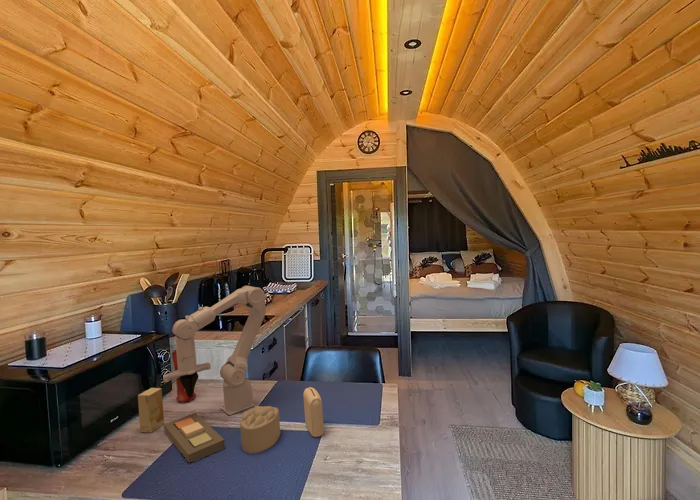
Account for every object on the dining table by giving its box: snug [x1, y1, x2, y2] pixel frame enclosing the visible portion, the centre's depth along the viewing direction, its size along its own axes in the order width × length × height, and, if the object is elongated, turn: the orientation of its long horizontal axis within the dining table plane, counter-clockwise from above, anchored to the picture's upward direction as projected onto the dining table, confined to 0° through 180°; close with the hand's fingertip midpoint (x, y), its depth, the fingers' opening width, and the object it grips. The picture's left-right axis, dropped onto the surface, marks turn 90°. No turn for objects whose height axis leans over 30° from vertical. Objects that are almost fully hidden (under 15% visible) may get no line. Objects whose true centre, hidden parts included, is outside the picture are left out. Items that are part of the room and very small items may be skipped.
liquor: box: [171, 349, 197, 403], centre depth 142 cm, size 7×7×28 cm
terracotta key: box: [174, 417, 196, 430], centre depth 118 cm, size 5×5×2 cm
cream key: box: [181, 422, 204, 439], centre depth 113 cm, size 5×5×2 cm
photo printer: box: [302, 386, 325, 438], centre depth 114 cm, size 10×4×12 cm, turn 20°
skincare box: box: [137, 387, 165, 433], centre depth 122 cm, size 6×4×12 cm
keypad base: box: [163, 412, 226, 464], centre depth 113 cm, size 10×24×2 cm, turn 41°
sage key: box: [189, 433, 212, 448], centre depth 108 cm, size 5×5×2 cm
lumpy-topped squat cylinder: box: [239, 405, 281, 454], centre depth 110 cm, size 10×13×9 cm
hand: (190, 396), depth 123 cm, fingers closed
